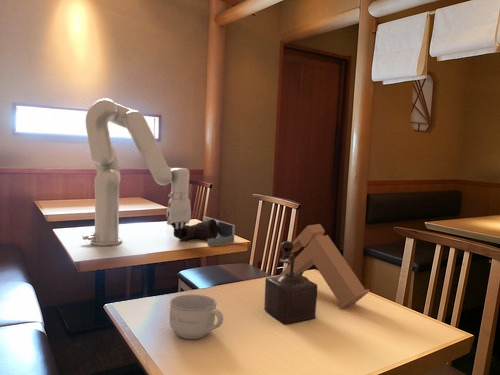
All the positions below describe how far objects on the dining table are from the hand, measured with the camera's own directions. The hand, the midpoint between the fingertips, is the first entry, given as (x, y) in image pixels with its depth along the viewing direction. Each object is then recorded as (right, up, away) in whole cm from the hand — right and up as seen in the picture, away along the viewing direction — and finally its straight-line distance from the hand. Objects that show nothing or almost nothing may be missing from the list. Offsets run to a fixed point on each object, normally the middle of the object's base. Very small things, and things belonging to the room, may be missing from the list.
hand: (177, 236), depth 181 cm
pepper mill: (+42, -12, -68) cm, 81 cm away
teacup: (+20, -13, -86) cm, 89 cm away
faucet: (+53, -11, -55) cm, 77 cm away
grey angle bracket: (+12, -2, +10) cm, 15 cm away
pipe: (+8, -2, +8) cm, 11 cm away
